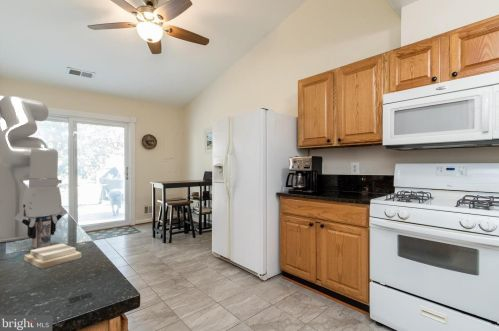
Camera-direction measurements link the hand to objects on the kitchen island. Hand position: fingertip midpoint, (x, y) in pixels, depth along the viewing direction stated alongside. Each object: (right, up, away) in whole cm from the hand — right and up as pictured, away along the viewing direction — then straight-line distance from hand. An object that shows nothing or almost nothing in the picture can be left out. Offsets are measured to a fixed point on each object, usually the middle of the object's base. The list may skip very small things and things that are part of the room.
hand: (41, 235), depth 85 cm
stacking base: (+12, -4, -11) cm, 17 cm away
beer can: (0, -4, 0) cm, 4 cm away
